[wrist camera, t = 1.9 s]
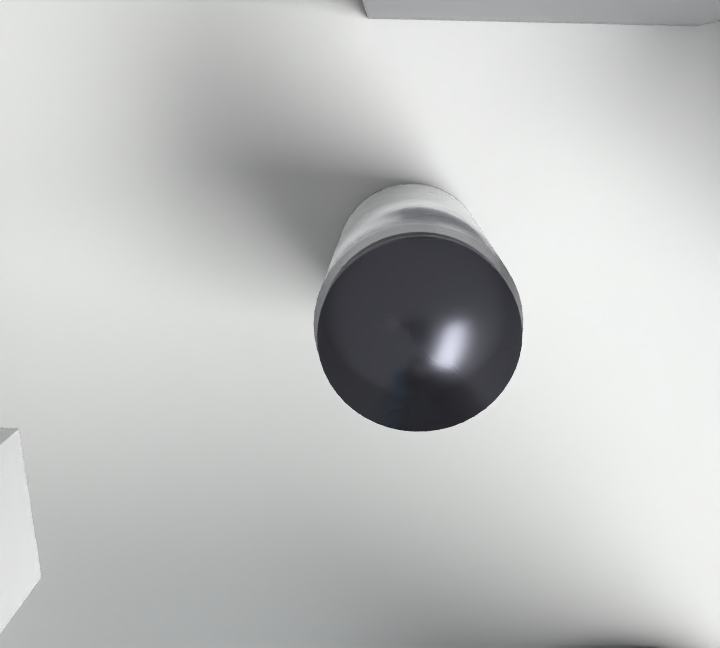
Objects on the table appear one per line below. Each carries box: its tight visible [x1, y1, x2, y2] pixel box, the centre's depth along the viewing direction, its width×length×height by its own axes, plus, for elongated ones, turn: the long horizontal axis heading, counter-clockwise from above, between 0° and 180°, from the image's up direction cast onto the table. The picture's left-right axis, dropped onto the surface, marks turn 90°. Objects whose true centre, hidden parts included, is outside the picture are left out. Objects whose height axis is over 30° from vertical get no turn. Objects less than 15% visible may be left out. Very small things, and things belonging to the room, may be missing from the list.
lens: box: [314, 184, 523, 431], centre depth 23 cm, size 6×6×10 cm
